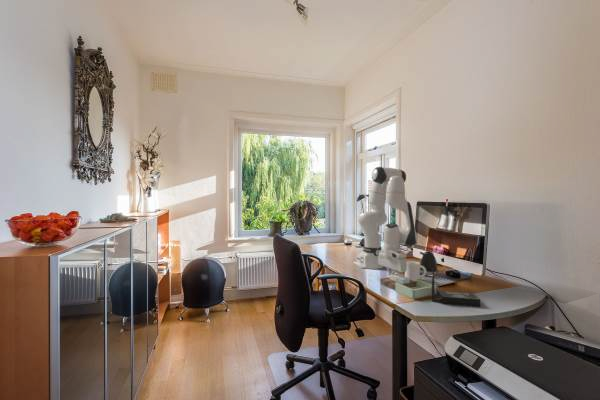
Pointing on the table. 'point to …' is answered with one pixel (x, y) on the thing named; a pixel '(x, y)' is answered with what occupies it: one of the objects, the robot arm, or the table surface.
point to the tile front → (403, 280)
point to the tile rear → (394, 276)
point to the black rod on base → (455, 297)
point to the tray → (416, 290)
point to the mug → (414, 270)
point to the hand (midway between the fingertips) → (391, 276)
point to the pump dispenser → (428, 263)
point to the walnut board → (391, 283)
